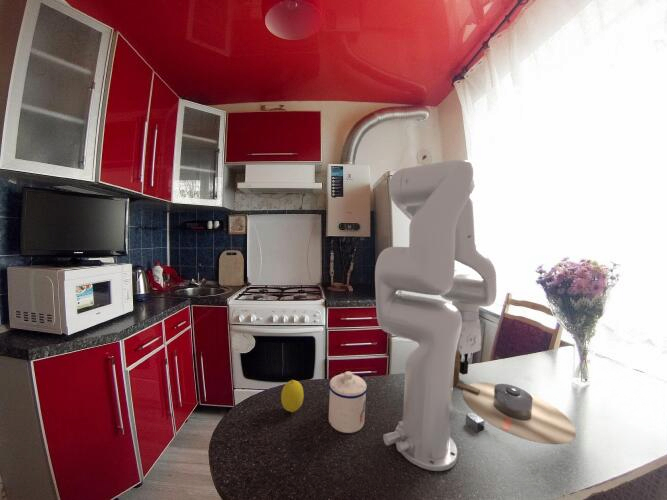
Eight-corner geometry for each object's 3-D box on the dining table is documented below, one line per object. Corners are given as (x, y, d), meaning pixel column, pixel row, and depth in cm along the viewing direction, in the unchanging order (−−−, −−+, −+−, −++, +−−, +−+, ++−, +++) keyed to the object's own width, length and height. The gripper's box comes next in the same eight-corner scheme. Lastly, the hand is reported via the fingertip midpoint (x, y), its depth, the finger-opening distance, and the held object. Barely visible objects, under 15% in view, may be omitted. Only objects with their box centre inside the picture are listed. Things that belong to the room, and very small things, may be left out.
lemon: (276, 411, 62) (277, 380, 62) (293, 401, 66) (294, 372, 66) (289, 423, 59) (291, 389, 58) (307, 412, 63) (308, 380, 62)
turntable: (581, 474, 48) (585, 415, 48) (431, 402, 68) (433, 360, 68) (578, 413, 66) (582, 370, 66) (460, 371, 86) (462, 337, 86)
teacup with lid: (369, 434, 56) (371, 383, 56) (328, 435, 55) (331, 383, 55) (359, 400, 68) (361, 358, 68) (325, 400, 67) (327, 358, 67)
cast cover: (528, 425, 59) (530, 402, 59) (489, 408, 65) (491, 387, 65) (533, 410, 65) (535, 389, 65) (497, 396, 71) (498, 376, 70)
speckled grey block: (476, 433, 58) (477, 422, 58) (465, 424, 61) (466, 414, 61) (483, 430, 59) (484, 420, 59) (472, 421, 62) (472, 412, 62)
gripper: (457, 320, 72) (453, 382, 73) (492, 316, 78) (488, 374, 78) (437, 312, 79) (434, 370, 79) (470, 309, 85) (467, 363, 85)
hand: (461, 372), depth 79 cm, fingers closed
